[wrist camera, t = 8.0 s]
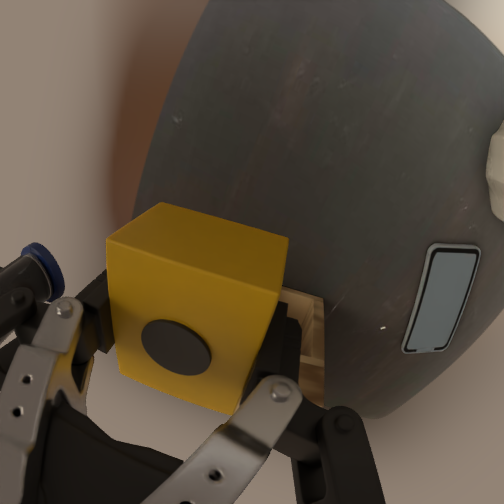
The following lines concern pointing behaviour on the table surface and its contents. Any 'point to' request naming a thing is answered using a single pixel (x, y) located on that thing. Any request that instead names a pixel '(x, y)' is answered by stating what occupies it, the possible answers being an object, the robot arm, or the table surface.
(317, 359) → the shelf
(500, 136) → the vase
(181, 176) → the table surface
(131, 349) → the measuring tape
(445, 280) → the smartphone
